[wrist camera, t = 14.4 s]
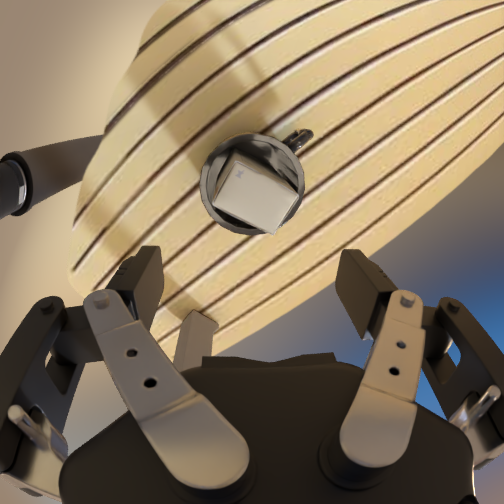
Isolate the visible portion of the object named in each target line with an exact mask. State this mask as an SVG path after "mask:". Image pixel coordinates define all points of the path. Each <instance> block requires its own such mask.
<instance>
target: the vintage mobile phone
mask: <svg viewBox="0 0 504 504" xmlns="http://www.w3.org/2000/svg"><path fill="white" fill-rule="evenodd" d="M218 329H219V324H217V323H216V322H214V321H212V320H210V319H209V318H207V317H205V316H203V315H202V314H200V313H198V312H197V311H195V310H193V311H192V312H191V313H190V314H189V315H188V317H187V318H186V319H185V320H184V321H183V322H182V324H181V328H180V333H179V337H178V342H177V346H176V351H175V356H174V361H173V365H174V366H175V367H176V368H177V370H178V371H179V372H181V371H184V370H186V369H189V368H193V367H197V366H201V365H202V356H211V353H212V341H213V334H214V333H215V332H216V331H217V330H218Z"/></svg>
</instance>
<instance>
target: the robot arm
mask: <svg viewBox="0 0 504 504" xmlns="http://www.w3.org/2000/svg"><path fill="white" fill-rule="evenodd" d="M27 195H28V180H27V176H26V173H25V170H24V168H23V167H22V165H21V164H20V163H19V162H17V161H16V160H7V161H4V162H3V163H0V219H2V218H4V217H5V216H7V215H9V214H11V213H12V212H14V211H17V210H18V209H20V208H21V207H22V206H23V205H24V204H25V202H26V199H27ZM335 287H336V292H337V294H338V296H339V298H340V300H341V302H342V303H343V305H344V307H345V309H346V311H347V313H348V314H349V316H350V318H351V320H352V322H353V324H354V326H355V328H356V330H357V332H358V334H359V336H360V338H361V339H362V340H370V339H373V340H374V342H373V345H372V347H371V349H370V352H369V355H368V357H367V360H366V362H365V364H364V367H363V369H361V368H360V367H357V366H354V365H352V364H348V363H343V362H337V361H336V358H335V356H334V353H333V352H331V353H320V354H307V355H301V356H296V357H293V358H289V359H285V360H281V361H277V362H270V363H269V362H262V361H256V360H251V359H245V358H240V357H216V356H202V365H201V366H197V367H193V368H189V369H186V370H184V371H181V372H179V371H178V370H177V368H176V367H175V366H174V365H173V363H172V362H171V361H170V359H169V358H168V357H167V355H166V354H165V353H164V351H163V350H162V349H161V347H160V346H159V345H158V343H157V342H156V340H155V339H154V338H153V336H152V335H151V333H150V332H149V331H150V328H151V325H152V322H153V319H154V316H155V313H156V310H157V307H158V304H159V302H160V299H161V296H162V293H163V289H164V274H163V266H162V257H161V249H160V247H159V246H142V247H141V248H140V250H139V251H138V253H137V254H136V256H131V257H129V258H128V259H126V260H125V261H123V262H122V264H121V265H120V267H119V270H117V271H116V273H115V275H114V276H113V277H112V279H111V280H110V282H109V283H108V285H107V286H106V288H105V289H102V290H98V291H95V292H93V293H91V294H89V295H88V296H87V297H86V298H85V299H84V301H83V305H82V306H75V307H68V308H65V305H64V302H63V300H62V299H61V298H60V297H57V296H49V297H45V298H43V299H41V300H39V301H38V302H37V303H36V304H34V306H33V307H32V308H31V310H30V311H29V313H28V314H27V315H26V317H25V318H24V319H23V321H22V322H21V324H20V325H19V327H18V328H17V330H16V331H15V333H14V334H13V336H12V338H11V339H10V340H9V342H8V344H7V345H6V347H5V349H4V350H3V352H2V353H1V355H0V477H1V478H2V479H4V480H5V481H7V482H8V483H10V484H11V485H13V486H15V487H17V488H19V489H21V490H23V491H24V492H26V493H28V494H29V495H32V496H37V497H38V496H43V495H44V496H47V497H49V498H52V499H54V500H57V501H59V502H62V504H479V503H478V501H477V499H476V496H475V491H474V481H473V470H480V469H482V468H483V467H485V466H486V465H487V464H488V463H490V462H491V461H493V460H494V459H495V458H496V457H497V456H499V455H500V454H501V453H503V452H504V354H503V353H502V352H501V350H500V349H499V348H498V346H497V345H496V344H495V342H494V341H493V340H492V339H491V337H490V336H489V335H488V333H487V332H486V331H485V330H484V328H483V327H482V326H481V325H480V324H479V322H478V321H477V320H476V319H475V318H474V316H473V315H472V314H471V313H470V312H469V310H468V309H467V308H466V307H465V306H464V305H463V304H462V303H461V302H459V301H458V300H456V299H453V298H450V297H443V298H441V299H440V301H439V303H438V306H437V308H435V307H429V306H423V301H422V300H421V299H420V298H419V297H418V296H417V295H416V294H414V293H412V292H409V291H405V290H399V289H398V288H397V287H396V286H395V285H394V283H393V282H392V281H391V280H390V279H389V278H387V275H386V274H385V273H383V270H382V269H381V268H380V267H379V266H378V265H377V264H375V263H374V262H372V261H370V260H369V259H368V258H367V257H366V256H365V255H364V254H363V253H362V252H361V250H359V249H344V250H343V251H342V253H341V257H340V262H339V267H338V271H337V276H336V282H335ZM453 341H454V343H455V344H456V346H457V347H458V349H459V350H460V353H461V359H460V362H459V364H458V365H457V367H456V366H455V364H454V362H453V361H452V359H451V357H450V356H449V354H448V353H447V351H448V349H449V347H450V345H451V344H452V342H453ZM49 351H50V353H51V355H52V356H51V358H50V360H49V362H48V364H47V366H46V368H45V360H46V357H47V355H48V353H49ZM97 361H104V362H105V364H106V367H107V369H108V371H109V373H110V375H111V377H112V379H113V381H114V383H115V385H116V388H117V389H118V391H119V393H120V395H121V397H122V399H123V401H124V403H125V405H126V407H127V409H128V411H127V412H126V413H124V414H123V415H122V416H120V417H119V418H118V419H117V420H115V421H114V422H113V423H111V424H110V425H109V426H108V427H106V428H105V429H103V430H102V431H101V432H99V433H98V434H97V435H95V436H94V437H93V438H91V439H90V440H89V441H87V442H86V443H85V444H83V445H82V446H81V447H79V448H78V449H76V450H75V451H74V452H73V453H71V454H70V456H68V445H67V442H66V439H65V438H64V436H63V435H62V433H63V429H64V426H65V422H66V419H67V416H68V412H69V409H70V406H71V403H72V400H73V397H74V394H75V391H76V388H77V385H78V382H79V380H80V377H81V374H82V371H83V369H84V366H85V363H88V362H97ZM421 368H422V370H423V372H424V374H425V376H426V378H427V380H428V382H429V384H430V385H431V387H432V389H433V391H434V393H435V396H436V398H437V400H438V402H439V404H440V406H441V408H442V410H443V412H444V414H445V416H446V418H447V420H445V419H443V418H441V417H440V416H438V415H436V414H435V413H433V412H431V411H430V410H428V409H426V408H425V407H423V406H421V405H420V404H418V403H417V402H415V398H416V393H417V388H418V383H419V376H420V372H421Z"/></svg>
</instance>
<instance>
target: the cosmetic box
mask: <svg viewBox="0 0 504 504" xmlns="http://www.w3.org/2000/svg"><path fill="white" fill-rule="evenodd" d="M298 199H299V195H298V194H297V193H296V191H295V190H294V189H293V188H292V187H291V186H290V185H289V184H288V183H287V182H286V181H285V179H284V178H283V177H282V176H281V175H280V174H279V173H278V172H277V171H276V170H275V169H273V168H272V167H270V166H269V165H267V164H265V163H263V162H262V161H260V160H258V159H256V158H254V157H253V156H251V155H249V154H247V153H245V152H243V151H241V150H239V149H237V148H233V149H232V151H231V152H230V154H229V156H228V157H227V159H226V161H225V163H224V164H223V166H222V168H221V170H220V172H219V174H218V176H217V181H216V186H215V190H214V195H213V200H212V204H213V205H214V206H215V207H217V208H219V209H220V210H222V211H224V212H226V213H228V214H230V215H231V216H234V217H235V218H238V219H240V220H241V221H244V222H246V223H248V224H250V225H252V226H254V227H256V228H258V229H260V230H262V231H264V232H267V233H269V234H271V235H274V234H275V233H276V231H277V229H278V228H279V227H280V225H281V224H282V222H283V221H284V220H285V218H286V217H287V215H288V214H289V212H290V211H291V209H292V208H293V206H294V205H295V203H296V202H297V200H298Z"/></svg>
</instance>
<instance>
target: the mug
mask: <svg viewBox="0 0 504 504" xmlns="http://www.w3.org/2000/svg"><path fill="white" fill-rule="evenodd" d="M313 136H314V134H313V131H311V130H309V129H296V130H295V131H294V132H293V133H291V134H290V135H289V136H288V137H287V138H285V139H284V140H283V141H282V142H280V141H279V140H277V139H275V138H274V137H271V136H268V135H265V134H261V133H256V132H244V133H238V134H235V135H233V136H230V137H229V138H226V139H225V140H224V141H223V142H221V143H220V144H219V145H218V146H217V147H216V148H215V149H214V150H213V151H212V152H211V153H210V155H209V156H208V158H207V160H206V162H205V164H204V166H203V168H202V171H201V177H200V183H199V187H200V193H201V199H202V202H203V204H204V206H205V208H206V210H207V211H208V213H209V215H210V216H211V217H212V218H213V219H214V220H215V221H216V222H217V223H218V224H219V225H220V226H222V227H224V228H226V229H228V230H230V231H232V232H234V233H239V234H245V235H258V234H266V233H267V232H264V231H262V230H260V229H258V228H256V227H254V226H252V225H250V224H248V223H246V222H244V221H241V220H240V219H238V218H235V217H234V216H231V215H230V214H228V213H226V212H224V211H222V210H220V209H219V208H217V207H215V206H214V205H213V204H212V200H213V195H214V190H215V186H216V181H217V176H218V174H219V172H220V170H221V168H222V166H223V164H224V163H225V161H226V159H227V157H228V156H229V154H230V152H231V151H232V149H233V148H237V149H239V150H241V151H243V152H245V153H247V154H249V155H251V156H253V157H254V158H256V159H258V160H260V161H262V162H263V163H265V164H267V165H269V166H270V167H272V168H273V169H275V170H276V171H277V172H278V173H279V174H280V175H281V176H282V177H283V178H284V179H285V181H286V182H287V183H288V184H289V185H290V186H291V187H292V188H293V189H294V190H295V191H296V193H297V194H298V195H299V199H298V200H297V202H296V203H295V205H294V206H293V208H292V209H291V211H290V212H289V214H288V215H287V217H286V218H285V220H284V221H283V222H282V224H281V225H280V227H281V226H283V225H284V224H285V223H286V222H287V221H288V220H290V219H291V218H292V217H293V216H294V214H295V212H296V211H297V209H298V208H299V206H300V205H301V202H302V198H303V195H304V191H305V181H304V172H303V169H302V167H301V164H300V162H299V159H298V158H297V156H296V155H295V154H294V153H295V152H296V151H297V150H299V149H300V148H301V147H302V146H303V145H305V144H306V143H307V142H308V141H309V140H311V139H312V138H313ZM280 227H279V228H280Z"/></svg>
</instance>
